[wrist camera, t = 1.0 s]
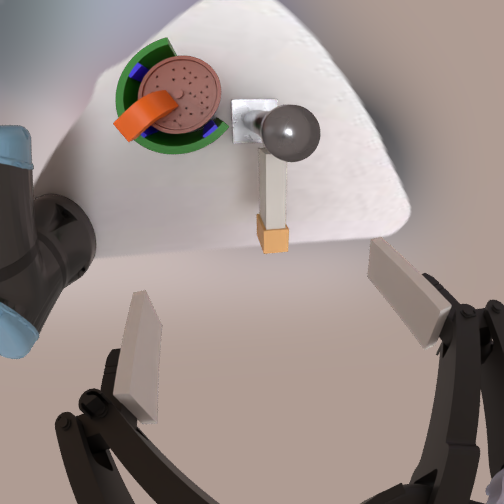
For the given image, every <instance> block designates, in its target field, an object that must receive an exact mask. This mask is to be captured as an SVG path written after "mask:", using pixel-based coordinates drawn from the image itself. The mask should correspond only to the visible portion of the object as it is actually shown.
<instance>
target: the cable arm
mask: <svg viewBox="0 0 504 504" xmlns="http://www.w3.org/2000/svg"><path fill="white" fill-rule="evenodd" d="M286 186H287V162H286V161H283V160H280V159H278V158H276V157H275V156H273V155H272V154H271V153H270V152H268V150H267V149H266V148H259V209H260V214H257V236H258V239H259V242H260V244H261V247H262V250H263V253H264V254H267V253H277V252H288V240H289V229H288V227H287V225H286Z"/></svg>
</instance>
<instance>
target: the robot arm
mask: <svg viewBox="0 0 504 504" xmlns="http://www.w3.org/2000/svg"><path fill="white" fill-rule="evenodd" d="M33 169H34V166H33V164H32V155H31V136H30V133H29V131H28V130H27V129H26V128H25V127H23V126H18V125H4V126H3V125H2V126H0V355H1V356H3V357H6V358H11V359H20V358H23V357H24V356H25V355H27V354H28V353H29V352H30V350H31V348H32V346H33V345H34V343H35V342H36V341H37V340H38V338H39V334H40V331H41V329H42V327H43V325H44V323H45V321H46V319H47V317H48V315H49V313H50V312H51V310H52V308H53V306H54V304H55V303H56V301H57V299H58V297H59V295H60V294H61V292H62V290H63V289H64V288H65V287H67V286H68V285H70V284H71V283H73V282H74V281H76V280H77V279H79V278H80V277H81V276H83V274H84V273H85V272H86V271H87V269H88V268H89V266H90V264H91V263H92V261H93V258H94V255H95V250H96V240H95V234H94V231H93V228H92V225H91V223H90V221H89V219H88V217H87V216H86V214H85V213H84V212H83V211H82V209H81V208H80V207H79V206H78V205H77V204H75V203H74V202H73V201H71V200H70V199H68V198H66V197H63V196H60V195H56V194H48V195H43V196H41V197H39V198H37V199H36V200H34V198H33V175H32V170H33ZM367 277H368V278H369V279H370V281H371V282H372V283H373V284H374V285H375V287H376V288H377V289H378V290H379V292H380V293H381V294H382V295H383V296H384V298H385V299H386V300H387V301H388V303H389V304H390V305H391V307H392V308H393V309H394V310H395V312H396V313H397V314H398V315H399V317H400V318H401V319H402V321H403V322H404V323H405V325H406V326H407V327H408V328H409V330H410V331H411V332H412V334H413V335H414V336H415V338H416V339H417V340H418V342H419V343H420V345H421V346H422V347H423V348H424V350H426V349H428V348H430V347H432V346H434V345H435V344H436V342H437V340H438V338H439V337H440V338H441V340H442V343H441V345H440V347H439V349H438V351H437V354H436V355H438V354H439V352H440V360H439V369H438V378H437V385H436V392H435V398H434V404H433V409H432V415H431V420H430V424H429V429H428V433H427V438H426V442H425V445H424V449H423V453H422V457H421V460H420V462H419V465H418V466H417V468H416V469H415V471H414V473H413V475H412V477H411V481H410V483H409V484H405V485H402V483H400V484H398V485H396V486H394V487H392V488H390V489H388V490H386V491H383V492H381V493H379V494H377V495H375V496H373V497H371V498H369V499H367V500H365V501H364V502H362V503H361V504H484V503H480V502H476V501H473V500H470V496H471V492H472V489H473V485H474V481H475V477H476V472H477V468H478V463H479V457H480V448H479V447H478V446H476V435H477V427H478V418H479V407H480V390H481V392H482V398H483V404H484V411H485V419H486V428H487V439H488V456H489V468H490V473H491V478H492V480H491V482H490V484H489V485H488V486H487V488H486V494H487V495H489V498H488V501H487V503H486V504H504V305H503V304H502V303H501V302H499V301H497V300H490V301H489V302H488V303H487V305H486V307H485V308H483V309H475V308H474V307H472V306H471V305H468V304H460V303H458V301H457V300H456V299H455V298H454V297H453V296H452V295H451V294H450V293H449V292H448V291H447V290H446V289H444V287H443V286H442V285H441V284H439V282H438V281H437V280H436V279H435V278H434V277H432V276H430V275H428V274H426V273H424V274H421V273H420V272H419V271H418V270H416V269H415V268H414V267H413V266H412V265H411V264H410V263H409V262H408V261H407V260H406V259H405V258H404V257H403V256H402V255H401V254H400V253H398V252H397V251H396V250H395V249H394V248H393V247H392V246H391V245H389V243H387V242H386V241H385V240H384V239H383V238H382V237H379V238H375V239H371V244H370V255H369V265H368V275H367ZM161 333H162V324H161V322H160V320H159V318H158V316H157V314H156V311H155V309H154V307H153V305H152V303H151V301H150V299H149V296H148V294H147V292H146V291H140V292H135V293H133V297H132V301H131V305H130V309H129V313H128V317H127V322H126V326H125V331H124V335H123V341H122V345H121V348H120V349H113V350H112V351H111V352H110V354H109V355H108V357H107V360H106V365H105V369H104V375H103V379H102V385H101V390H98V389H95V388H94V389H89V390H87V391H85V392H84V393H83V394H82V395H81V397H80V399H79V409H80V410H81V411H82V412H83V413H84V414H81V415H79V416H74V415H73V414H72V413H70V412H64V413H62V414H60V415H59V416H58V418H57V419H56V422H55V430H56V435H57V439H58V443H59V447H60V451H61V455H62V459H63V462H64V466H65V469H66V472H67V475H68V478H69V482H70V485H71V487H72V490H73V493H74V495H75V498H76V501H77V503H78V504H135V503H134V501H133V499H132V498H131V496H130V494H129V492H128V490H127V488H126V486H125V484H124V482H123V480H122V478H121V475H120V473H119V471H118V469H117V467H116V464H115V462H114V460H113V458H112V456H111V453H110V451H109V449H110V448H111V450H112V451H113V452H114V454H115V455H116V456H117V458H118V459H119V460H120V462H121V463H122V464H123V465H124V467H125V468H126V469H127V470H128V471H129V473H130V474H131V475H132V476H133V478H134V479H135V480H136V481H137V482H138V483H139V485H141V487H142V488H143V489H144V490H145V491H146V492H147V493H148V494H149V496H150V497H151V498H152V499H153V500H154V501H155V502H156V503H157V504H219V503H218V502H217V501H215V500H214V499H213V498H212V497H210V496H209V495H208V494H207V493H205V492H204V491H203V490H202V489H200V488H199V487H198V486H197V485H195V483H193V482H192V481H191V480H190V479H189V478H188V477H186V475H184V474H183V473H182V472H181V471H180V470H179V469H178V468H177V467H176V466H174V464H173V463H172V462H171V461H169V460H168V459H167V458H166V457H165V456H164V455H163V454H162V453H161V452H160V450H159V449H158V448H157V447H155V445H154V444H153V443H152V442H151V441H150V440H149V439H148V438H147V437H146V436H145V434H144V433H143V432H142V431H141V430H140V429H139V428H138V427H137V419H138V420H139V421H140V422H141V423H142V424H155V423H157V421H158V381H159V363H160V347H161ZM492 339H493V341H492Z"/></svg>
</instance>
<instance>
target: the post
mask: <svg viewBox="0 0 504 504" xmlns="http://www.w3.org/2000/svg"><path fill="white" fill-rule="evenodd" d="M231 105H232V133H233V144H234V143H256V142H262V143H263V145H264V147H265V148H266V149H267V150H268V152H270V153H271V154H272V155H273V156H275V157H276V158H278V159H280V160H283V161H286V162H297V161H301V160H303V159H305V158H307V157H309V156H310V155H311V154H312V153H313V152H314V151H315V149H316V148H317V146H318V143H319V140H320V127H319V123H318V121H317V119H316V118H315V116H314V115H313V114H312V113H311V112H310V111H309V110H307V109H306V108H304V107H301V106H298V105H281V106H278V99H244V100H231Z"/></svg>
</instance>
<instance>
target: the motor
mask: <svg viewBox="0 0 504 504" xmlns="http://www.w3.org/2000/svg"><path fill="white" fill-rule="evenodd" d="M220 98H221V85H220V81H219V78H218V76H217V74H216V73H215V71H214V70H213V69H212V67H211V66H210V65H208V64H207V63H206V62H204V61H202V60H200V59H198V58H195V57H191V56H177V55H176V53H175V51H174V49H173V47H172V45H171V44H170V42H169V40H168V38H163V39H160V40H158V41H155V42H153V43H151V44H149V45H148V46H146V47H145V48H143V49H142V50H141V51H139V52H138V53H137V54H136V55H135V56H134V57H133V58H132V59H131V60H130V61H129V63H128V64H127V66H126V67H125V69H124V70H123V72H122V74H121V76H120V79H119V82H118V85H117V90H116V110H117V114H118V117H119V118H118V119H117V120H116V121H115V122H114V123H113V124H114V125H115V127H116V128H117V129H118V130H119V131H120V133H121V134H122V135H123V136H124V137H125V138H126V140H127V141H128V142H130V141H132V140H134V141H136V142H137V143H138V144H140V145H141V146H143V147H145V148H147V149H149V150H152V151H155V152H158V153H163V154H184V153H189V152H193V151H196V150H199V149H201V148H203V147H205V146H207V145H209V144H211V143H212V142H214V141H215V140H216V139H218V138H219V137H220V136H221V135H222V134H223V133H224V132H225V131H226V130H227V129H228V128H229V126H228V125H227V124H226V123H224V122H223V121H222V120H220V119H218V118H217V117H216V118H215V119H214V121H213V120H212V119H211V120H210V121H209V122H208V123H207V124H206V125H204V124H205V123H206V122H207V121H208V120H209V119H210V118H211V117H212V116H213V115H214V113H215V111H216V110H217V108H218V105H219V102H220ZM202 125H204V128H203V129H200V130H197V131H193V130H195V129H197V128H199V127H201V126H202ZM190 131H193V132H190Z"/></svg>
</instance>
